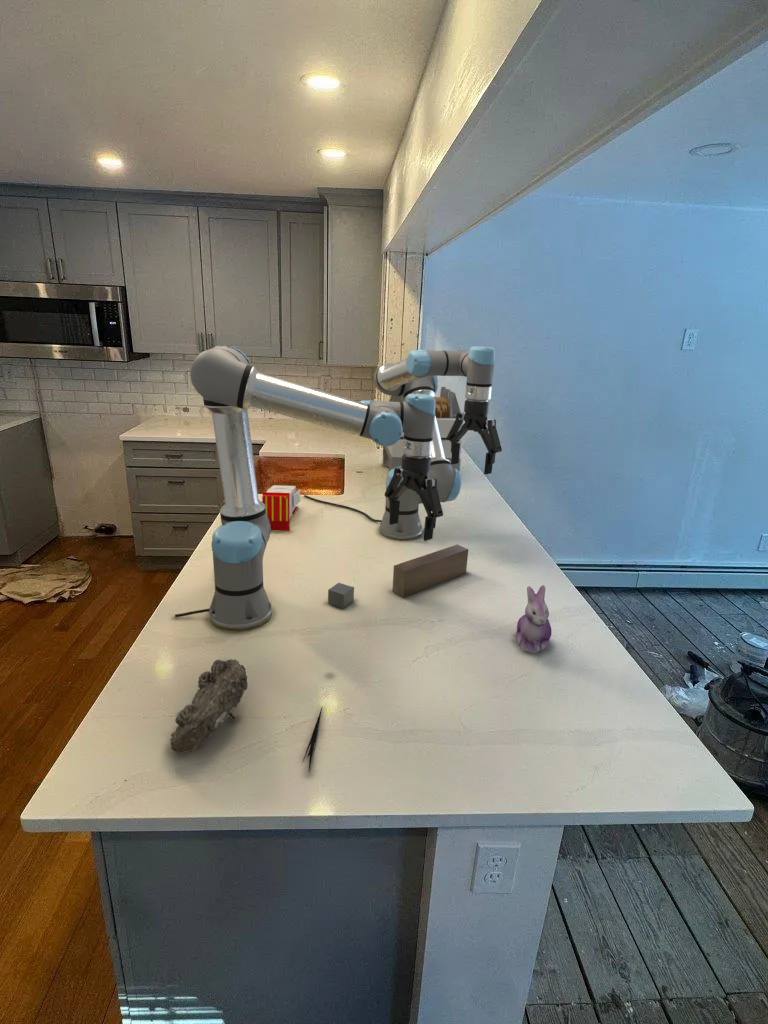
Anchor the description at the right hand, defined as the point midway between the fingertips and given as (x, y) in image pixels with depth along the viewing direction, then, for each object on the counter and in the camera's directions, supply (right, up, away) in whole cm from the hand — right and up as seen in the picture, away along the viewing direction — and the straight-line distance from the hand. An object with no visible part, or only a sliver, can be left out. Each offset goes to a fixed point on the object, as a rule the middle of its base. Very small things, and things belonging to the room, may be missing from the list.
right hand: (470, 468), depth 177 cm
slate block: (-39, -38, -25) cm, 59 cm away
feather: (-40, -53, -68) cm, 95 cm away
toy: (-65, -16, +33) cm, 75 cm away
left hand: (-20, -19, -23) cm, 36 cm away
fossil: (-59, -53, -69) cm, 105 cm away
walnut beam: (-13, -34, -12) cm, 38 cm away
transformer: (-10, +5, +98) cm, 98 cm away
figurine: (+9, -45, -40) cm, 61 cm away
